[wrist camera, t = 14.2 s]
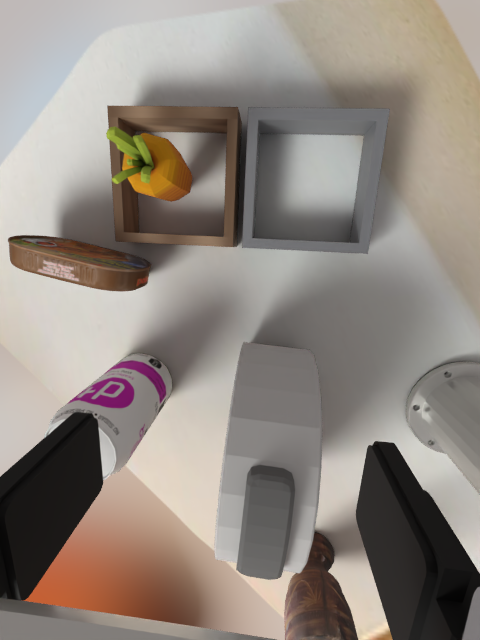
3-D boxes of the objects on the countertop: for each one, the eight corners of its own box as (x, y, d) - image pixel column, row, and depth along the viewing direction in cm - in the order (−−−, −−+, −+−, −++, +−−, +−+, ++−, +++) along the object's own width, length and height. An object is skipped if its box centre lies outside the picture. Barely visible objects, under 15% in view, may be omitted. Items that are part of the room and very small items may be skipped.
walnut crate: (241, 122, 33) (238, 107, 29) (236, 246, 36) (232, 247, 32) (126, 121, 34) (107, 105, 30) (131, 241, 37) (115, 241, 33)
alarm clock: (247, 325, 39) (224, 408, 19) (306, 331, 38) (342, 424, 19) (233, 464, 44) (205, 635, 25) (284, 472, 44) (295, 652, 25)
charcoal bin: (375, 124, 32) (389, 108, 28) (357, 252, 35) (367, 253, 31) (251, 122, 33) (248, 107, 29) (245, 246, 36) (242, 247, 32)
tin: (161, 262, 38) (131, 268, 29) (157, 286, 38) (127, 299, 30) (46, 233, 38) (-14, 231, 30) (45, 257, 39) (-14, 262, 31)
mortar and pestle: (314, 504, 45) (347, 705, 25) (362, 533, 45) (431, 752, 26) (271, 552, 48) (271, 763, 28) (316, 578, 48) (347, 804, 29)
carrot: (208, 206, 35) (165, 182, 21) (167, 212, 36) (98, 193, 21) (202, 159, 34) (151, 100, 20) (159, 166, 35) (81, 114, 20)
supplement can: (118, 346, 41) (35, 404, 27) (177, 358, 41) (125, 423, 26) (114, 399, 43) (36, 478, 29) (170, 410, 43) (120, 497, 28)
